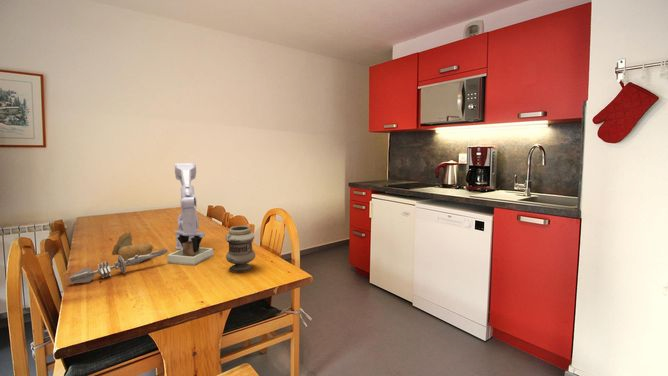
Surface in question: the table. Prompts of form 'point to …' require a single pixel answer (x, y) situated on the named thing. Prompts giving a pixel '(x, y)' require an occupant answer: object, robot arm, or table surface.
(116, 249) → the rock
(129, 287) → the table surface
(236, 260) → the apothecary jar
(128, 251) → the potato
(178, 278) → the table surface
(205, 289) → the table surface
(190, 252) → the walnut block
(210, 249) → the sage tray
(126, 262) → the spaceship
